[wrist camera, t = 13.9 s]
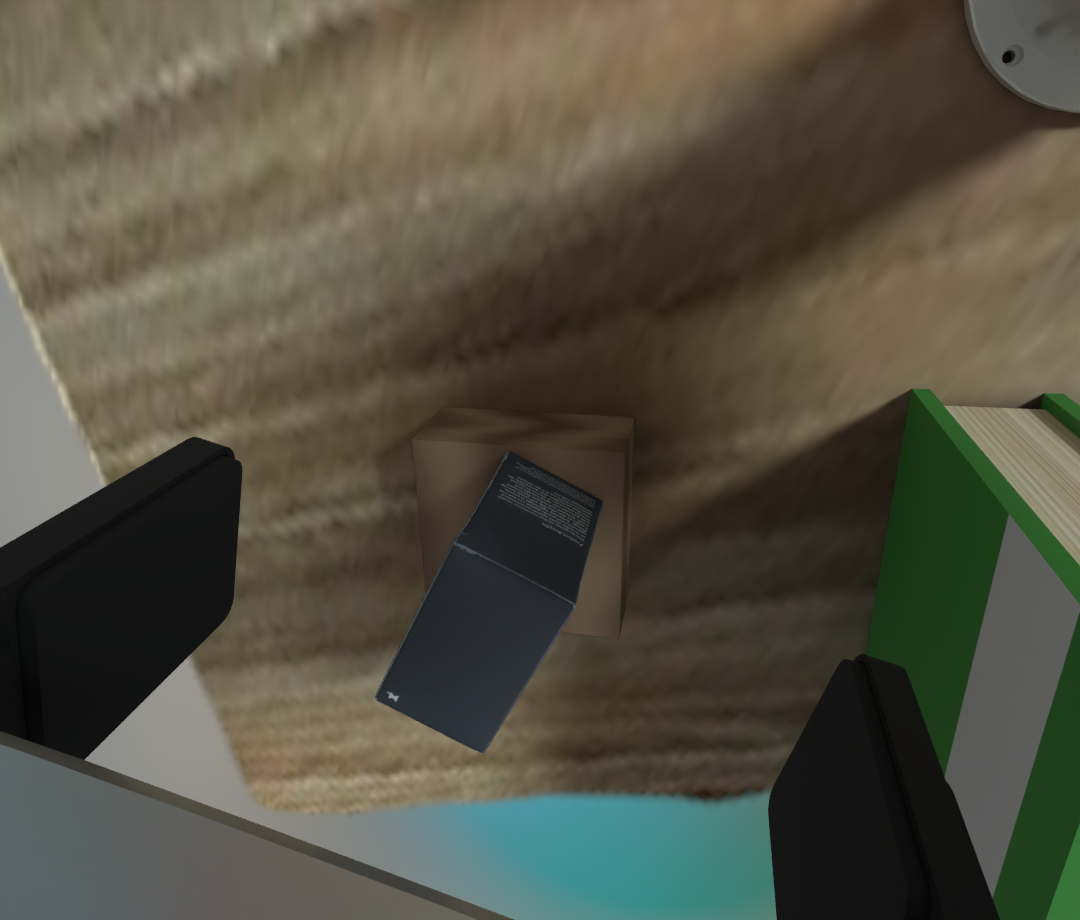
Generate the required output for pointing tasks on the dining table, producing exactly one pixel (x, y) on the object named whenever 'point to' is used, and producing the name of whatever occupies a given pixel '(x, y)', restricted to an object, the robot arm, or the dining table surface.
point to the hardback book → (994, 631)
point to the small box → (494, 604)
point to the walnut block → (555, 445)
